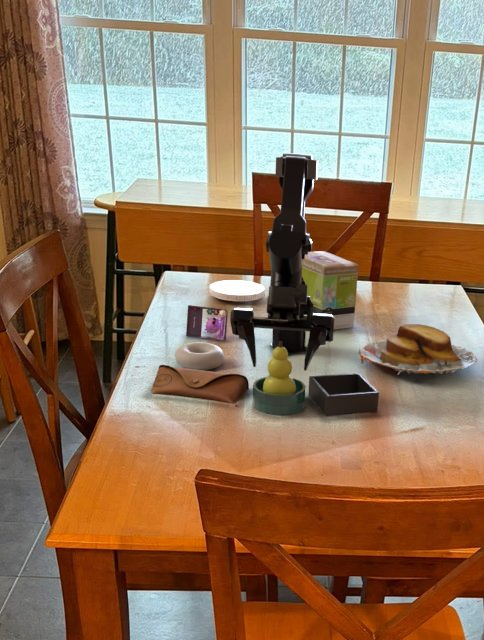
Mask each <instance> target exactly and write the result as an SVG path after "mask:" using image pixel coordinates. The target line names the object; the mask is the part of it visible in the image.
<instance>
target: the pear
mask: <svg viewBox="0 0 484 640" xmlns="http://www.w3.org/2000/svg"><path fill="white" fill-rule="evenodd" d="M271 354H272V356H271V358H270V359H269V361H268V363H267V372H268V373H269V375H268V376H266V377H267V378H266V379H265V381H264V384H263V392H265V393H269V394H275V395H289V394H294V393H295V391H296V386H295V382H294V380H293V379H292V378H293V377H292V376H291V374H292V370H293V364H292V361H291V360H290V358H288V357H289V354H288V352H287V350H286V349H285V348H284V347H282V341H279V347H276V348H275V349H274V348H273V350H272V353H271Z"/></svg>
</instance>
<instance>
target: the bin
mask: <svg viewBox="0 0 484 640" xmlns="http://www.w3.org/2000/svg"><path fill="white" fill-rule="evenodd" d="M307 394H308V397H309V398H310V399H311V400H312V402H313V403H314V404H315V406H317V407H318V409H319V410H320V411H321V413H322V414H323V415H325V417H334V416H335V417H337V416H346V415H347V416H348V415H358V414H371V413H378V410H379V409H378V407H379V397H380V392H379V391H378V389H376V388H375V387H374V386H373V385H372V384H371V383H370V382H369V381H368V380H367V378H365V377H364V376H363V375H362V374H361V373H359V372H350V373H338V374H337V373H335V374H323V375H309V376H308V393H307Z"/></svg>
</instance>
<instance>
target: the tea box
mask: <svg viewBox="0 0 484 640" xmlns="http://www.w3.org/2000/svg"><path fill="white" fill-rule="evenodd" d="M358 276H359V264H357V263H355V262H353V261H350V260H348V259H345V258H343V257H340V256H338V255H335V254H332V253H330V252H327V251H325V250H320V251H311V252H309V254H308V255H305V258H304V259H302V277H303V279H304V281H305V283H306V285H308V288H307V289H308V296H310V300H311V302H312V303H313V313H319V314H332V316H333V317H334V331H335V330H342V329H350V328H354V324H355V317H356V316H355V315H356V313H355V312H356V302H357V291H358V290H357V289H358ZM304 316H307V315H304Z"/></svg>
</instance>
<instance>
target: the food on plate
mask: <svg viewBox="0 0 484 640" xmlns="http://www.w3.org/2000/svg"><path fill="white" fill-rule="evenodd" d="M375 344H377V346H376V345H375ZM358 356H359V357H360V364H361V365H363V364H364V360H365V361H368V362H370V363H374V364H379V365H380V366H383V367H387V368H388V369H390V368H391V369H393V370H395V371H396V372H397V375H398V376H399V375H400V374H401V373H402V372H407V374H411V373H414V374H419V373H420V374H424V375H426V374H433V375H435V374H438V373H439V375H443V373H444V372H446V373H450V374H452V373H453V374H454V373H456V372H457V370H460V369H461V370H464V369H466V368H468V367H471V366H472V365H473V364H475V363H477V361H478V358H477V356H476V355H475V354H474V353H473V352H472V351H470V350H468V349H467V348H464V347H461V346H458V345H455V344H452V341H451V337H450V335H449V334H448V333H446V332H445V331H443V330H441V329H439V328H436V327H433V326H430V325H427V324H426V325H425V324H420V323H419V324H418V323H417V324H416V323H405V324H400V325H399V326H398V329H397V332H394V333H391V334H390V335H388V336H387V337H386V339H383V340H376V341H373V342H370V343H367V344H366V345H365V346H363V347H361V348H359V350H358Z"/></svg>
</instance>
